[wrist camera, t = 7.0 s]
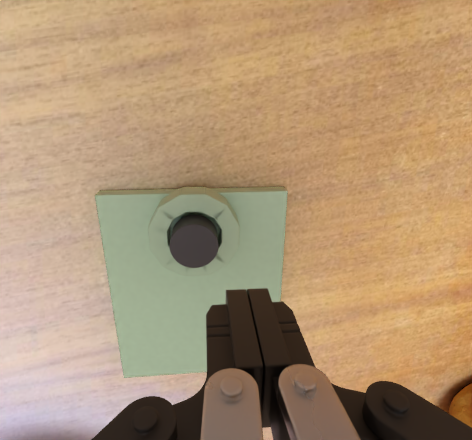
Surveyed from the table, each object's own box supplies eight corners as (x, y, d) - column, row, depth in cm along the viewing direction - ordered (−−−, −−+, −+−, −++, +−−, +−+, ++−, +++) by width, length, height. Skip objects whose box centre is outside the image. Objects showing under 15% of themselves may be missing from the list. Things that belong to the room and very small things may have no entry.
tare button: (170, 214, 21) (167, 225, 19) (216, 213, 21) (218, 223, 20) (173, 256, 22) (171, 269, 20) (217, 254, 22) (219, 267, 21)
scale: (98, 183, 22) (83, 196, 20) (284, 180, 24) (295, 191, 21) (126, 367, 28) (118, 396, 26) (273, 356, 29) (281, 384, 27)
